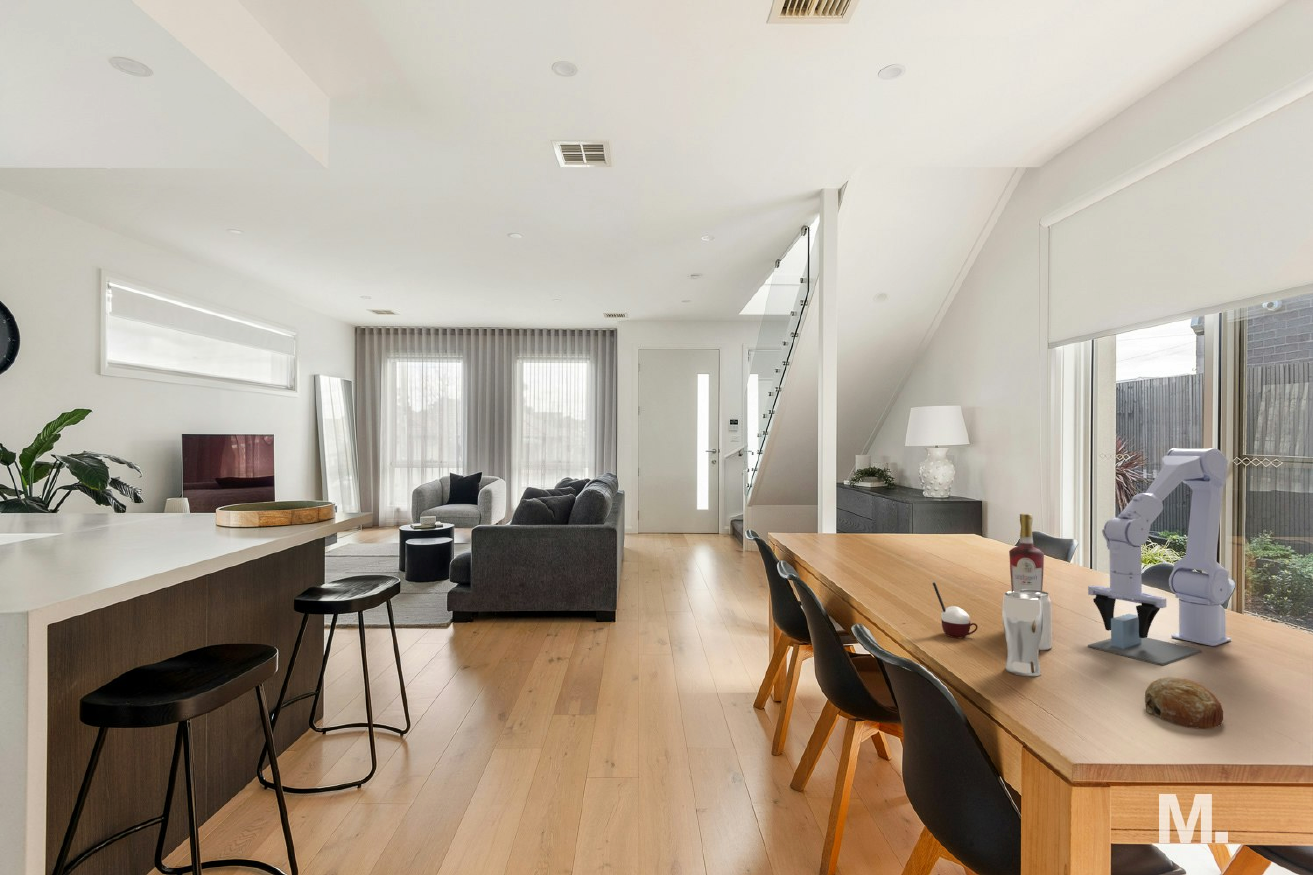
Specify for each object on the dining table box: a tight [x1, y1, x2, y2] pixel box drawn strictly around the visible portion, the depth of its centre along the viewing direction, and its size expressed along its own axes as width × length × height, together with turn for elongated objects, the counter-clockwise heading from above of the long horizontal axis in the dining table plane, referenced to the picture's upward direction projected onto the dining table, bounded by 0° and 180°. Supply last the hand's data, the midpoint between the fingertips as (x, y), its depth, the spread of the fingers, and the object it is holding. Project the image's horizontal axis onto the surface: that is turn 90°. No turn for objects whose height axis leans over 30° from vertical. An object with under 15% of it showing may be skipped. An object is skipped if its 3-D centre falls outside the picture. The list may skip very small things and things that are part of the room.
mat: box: [1087, 636, 1203, 666], centre depth 139 cm, size 18×14×1 cm
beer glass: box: [1002, 591, 1043, 678], centre depth 125 cm, size 7×7×15 cm
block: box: [1110, 613, 1142, 649], centre depth 141 cm, size 8×3×6 cm, turn 120°
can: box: [1019, 590, 1052, 651], centre depth 141 cm, size 6×6×12 cm
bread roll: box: [1144, 676, 1224, 730], centre depth 105 cm, size 10×10×8 cm
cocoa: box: [932, 580, 978, 639], centre depth 149 cm, size 10×6×12 cm, turn 41°
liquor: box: [1008, 513, 1045, 592], centre depth 154 cm, size 7×7×28 cm
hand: (1126, 633), depth 141 cm, fingers open, 6 cm apart
